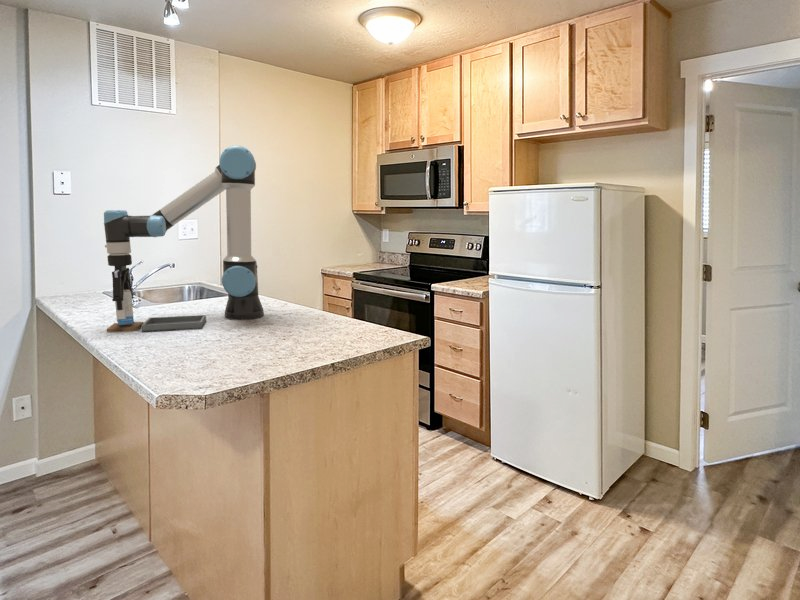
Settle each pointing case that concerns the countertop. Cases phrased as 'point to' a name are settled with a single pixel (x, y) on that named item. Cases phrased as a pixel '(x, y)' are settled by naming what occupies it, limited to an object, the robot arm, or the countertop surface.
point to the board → (125, 327)
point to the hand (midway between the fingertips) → (125, 316)
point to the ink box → (127, 309)
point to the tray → (174, 323)
